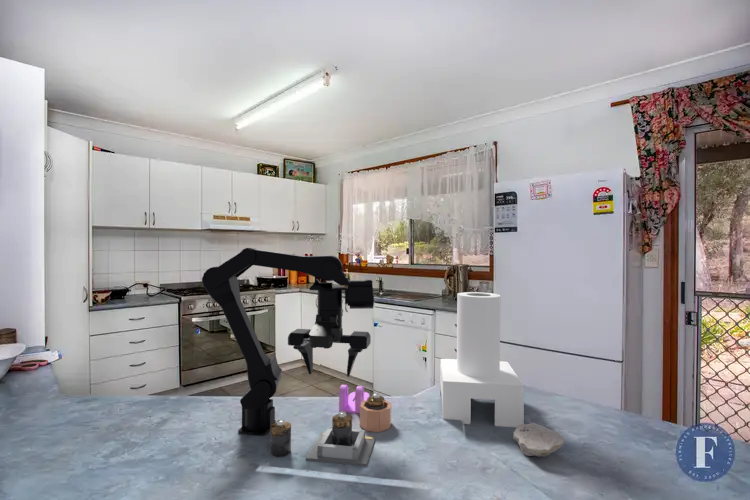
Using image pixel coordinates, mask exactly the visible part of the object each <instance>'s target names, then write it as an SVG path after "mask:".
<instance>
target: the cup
mask: <svg viewBox="0 0 750 500" xmlns="http://www.w3.org/2000/svg"><path fill="white" fill-rule="evenodd" d="M359 426H360V428H361V429H362V430H365V432H372V433H373V432H375V433H381V432H384V431H387V430H389V429H390V428H391V426H392V402H390V401H388V400H386V399H385V398H384V409H380V410H373V409H368V408H367V400H365V401H362V403H361V405H360V413H359Z"/></svg>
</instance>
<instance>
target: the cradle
mask: <svg viewBox="0 0 750 500" xmlns="http://www.w3.org/2000/svg"><path fill="white" fill-rule="evenodd" d="M375 441H376V437H374V436H373V437H372V436H366V430H365V429H359V428H352V446H342V445H332V426H328V427H327V430H326V431H325V432H321V433H320V434H319V436H318V438H317V439H316V440H315V442H314V444H313V446H312V447H311V449H310V450H309V452H308V454H307V456H306V457H305V461H311V462H319V463H320V462H321V463H331V464H337V465H347V466H348V465H350V466H358V467H359V466H360V467H367V466H368V463H369V461H370V457H371V454H372V451H373V447H374V444H375Z"/></svg>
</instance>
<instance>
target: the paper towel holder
mask: <svg viewBox="0 0 750 500" xmlns="http://www.w3.org/2000/svg"><path fill="white" fill-rule="evenodd" d="M456 298H457V299H456V300H457V301H456V304H457V306H456V309H457V310H456V311H457V312H456V358H455V359H454V358H440V368H439V369H440V373H439V375H440V378H439V379H440V380H439V382H440V388H439V389H440V390H439V391H440V395H441V404H442V405H441V406H442V410H441V411H442V412H441V413H442V415H441V416H442V420H451V421H452V420H453V421H461V424H463V425H464V424H465V425H471V422H472V421H471V409H472V408H471V407H472V405H471V404H472V403H471V402H472V401H471V400H472V399H475V400H476V399H477V400H492V401H494V426H495V427H504V428H505V427H507V428H517V426H518V425H522V424H525V422H524V421H525V419H524V416H525V411H524V410H525V409H524V408H525V385H524V384H523V382H522V381H521V379H520V377H519V376H518V375H517V373H516V372H515V370H514V369H513V368H512V366H511V365H510V363H509V362H508V361H501V360H500V359H501V353H500V352H501V295H500V294H498V293H491V292H480V291H479V292H476V291H468V292H467V291H465V292H457V296H456Z"/></svg>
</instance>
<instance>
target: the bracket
mask: <svg viewBox="0 0 750 500" xmlns="http://www.w3.org/2000/svg"><path fill="white" fill-rule="evenodd" d="M369 396H370V393H368V392H367V391H365V388H364V386H362V385H357V386H356V389H355V391H353V392H350V393H349V385H348V384H340V387H339V392H338V413H339V412H341V411H344V412H346V413H352V414H360V405H361V403H362V401H365V400H367V398H368V397H369Z"/></svg>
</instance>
